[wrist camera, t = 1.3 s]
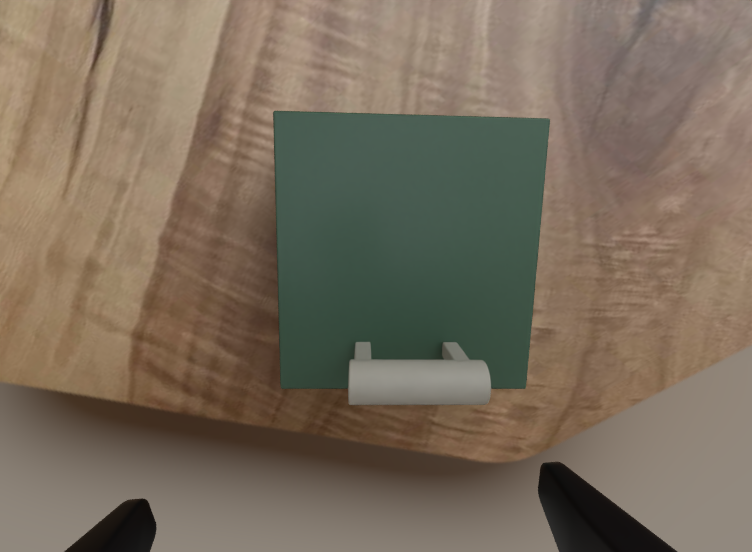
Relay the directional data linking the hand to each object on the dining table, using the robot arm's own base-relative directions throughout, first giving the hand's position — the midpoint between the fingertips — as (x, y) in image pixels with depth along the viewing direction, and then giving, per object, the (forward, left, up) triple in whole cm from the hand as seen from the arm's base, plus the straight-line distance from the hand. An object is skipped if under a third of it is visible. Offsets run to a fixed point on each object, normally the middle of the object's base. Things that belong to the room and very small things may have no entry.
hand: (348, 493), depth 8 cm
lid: (+1, -5, -9) cm, 11 cm away
